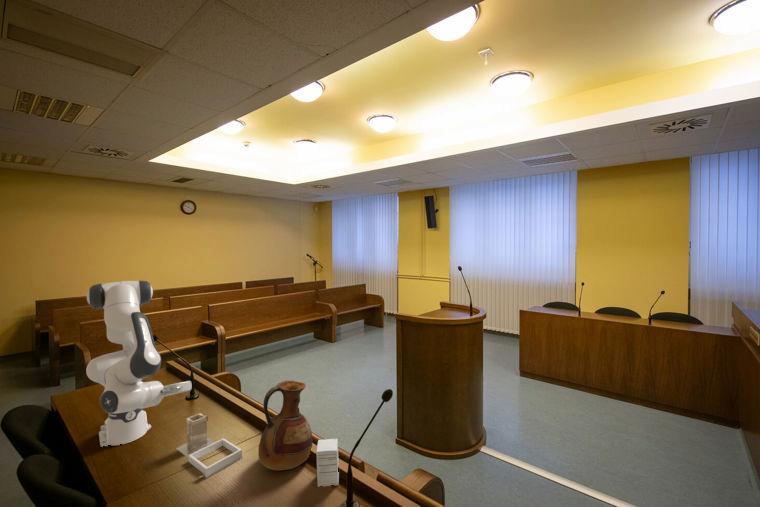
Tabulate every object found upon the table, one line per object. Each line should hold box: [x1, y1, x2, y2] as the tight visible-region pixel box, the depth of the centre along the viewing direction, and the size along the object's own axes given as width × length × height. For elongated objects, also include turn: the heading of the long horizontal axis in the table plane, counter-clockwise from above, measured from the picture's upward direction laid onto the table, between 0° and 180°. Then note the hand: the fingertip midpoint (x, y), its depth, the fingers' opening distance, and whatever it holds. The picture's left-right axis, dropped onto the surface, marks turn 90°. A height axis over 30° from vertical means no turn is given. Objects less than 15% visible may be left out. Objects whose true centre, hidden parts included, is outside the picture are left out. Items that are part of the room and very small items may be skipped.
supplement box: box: [316, 438, 340, 488], centre depth 120 cm, size 7×7×13 cm
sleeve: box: [185, 412, 209, 451], centre depth 142 cm, size 6×7×12 cm
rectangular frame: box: [187, 437, 243, 479], centre depth 132 cm, size 14×14×4 cm
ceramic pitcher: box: [258, 380, 313, 471], centre depth 131 cm, size 20×20×30 cm
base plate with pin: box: [175, 435, 217, 458], centre depth 141 cm, size 12×12×9 cm
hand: (180, 388), depth 138 cm, fingers open, 8 cm apart
